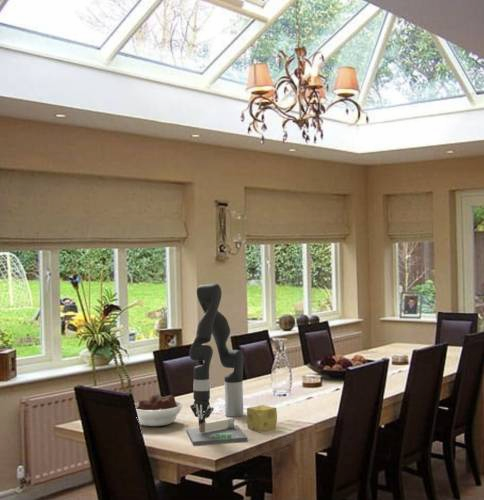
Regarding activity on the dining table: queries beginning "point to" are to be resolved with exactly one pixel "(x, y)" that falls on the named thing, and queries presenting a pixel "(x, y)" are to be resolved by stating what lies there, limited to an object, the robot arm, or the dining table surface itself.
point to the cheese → (261, 418)
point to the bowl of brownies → (158, 410)
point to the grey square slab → (216, 435)
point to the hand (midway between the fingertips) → (202, 426)
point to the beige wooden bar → (216, 425)
